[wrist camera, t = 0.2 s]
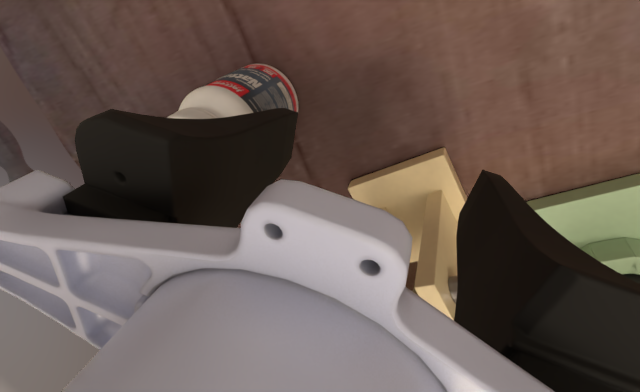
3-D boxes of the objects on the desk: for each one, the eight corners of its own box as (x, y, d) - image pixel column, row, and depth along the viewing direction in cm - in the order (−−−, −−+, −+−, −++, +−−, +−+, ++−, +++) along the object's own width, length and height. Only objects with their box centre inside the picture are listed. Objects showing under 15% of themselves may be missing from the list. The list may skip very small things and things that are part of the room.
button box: (700, 295, 22) (728, 334, 20) (555, 311, 27) (564, 345, 24) (674, 163, 19) (705, 191, 17) (513, 204, 23) (519, 231, 21)
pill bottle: (289, 55, 23) (212, 96, 16) (307, 131, 25) (248, 196, 18) (221, 68, 25) (127, 110, 18) (245, 138, 27) (170, 198, 20)
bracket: (491, 252, 26) (504, 377, 18) (401, 269, 29) (380, 380, 21) (444, 146, 23) (436, 241, 15) (351, 180, 26) (305, 271, 18)
